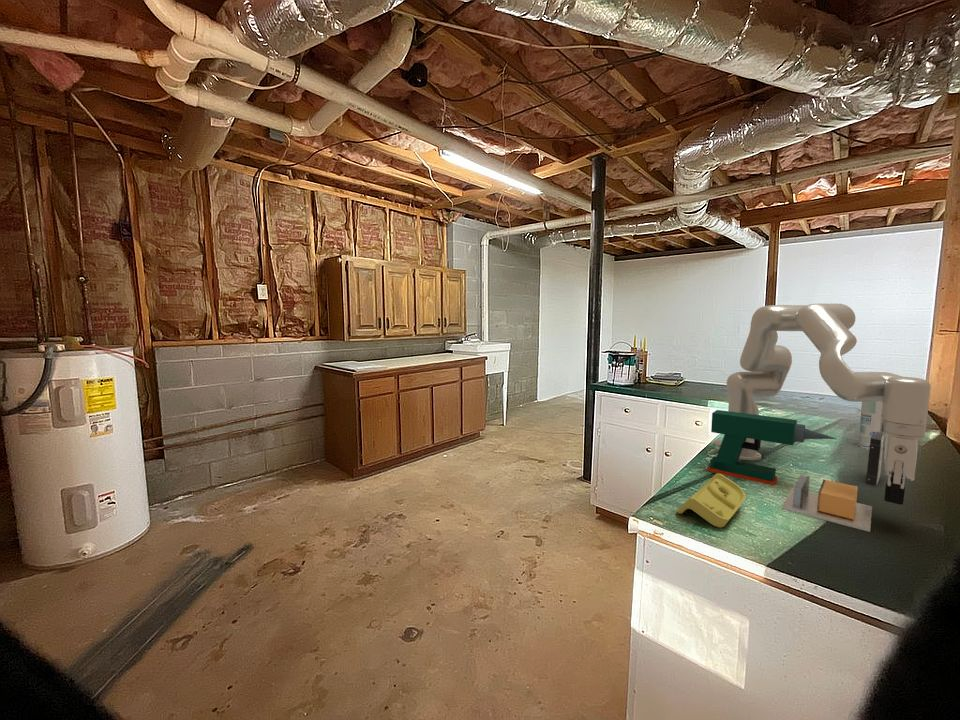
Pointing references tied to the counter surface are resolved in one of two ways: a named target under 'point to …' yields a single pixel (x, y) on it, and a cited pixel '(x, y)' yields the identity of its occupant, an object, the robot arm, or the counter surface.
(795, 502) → the vise base
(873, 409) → the tall white carton
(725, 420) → the power tool
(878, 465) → the disk drive
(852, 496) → the block
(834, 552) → the counter surface
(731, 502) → the plastic component
